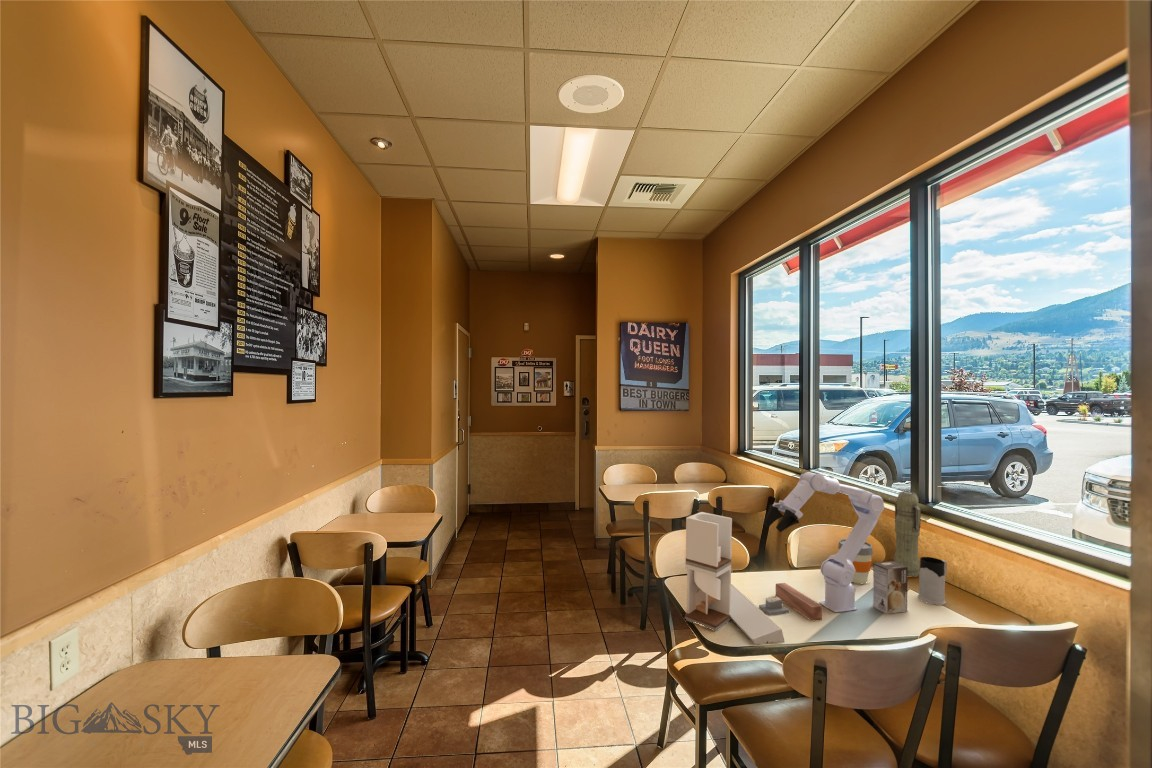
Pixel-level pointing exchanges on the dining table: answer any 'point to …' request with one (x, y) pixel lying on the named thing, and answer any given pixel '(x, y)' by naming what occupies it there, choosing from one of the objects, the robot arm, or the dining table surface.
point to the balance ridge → (773, 606)
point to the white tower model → (708, 569)
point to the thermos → (907, 531)
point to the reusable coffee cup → (861, 562)
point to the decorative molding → (753, 620)
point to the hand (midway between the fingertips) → (771, 527)
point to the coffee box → (890, 587)
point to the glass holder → (932, 580)
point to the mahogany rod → (799, 602)
